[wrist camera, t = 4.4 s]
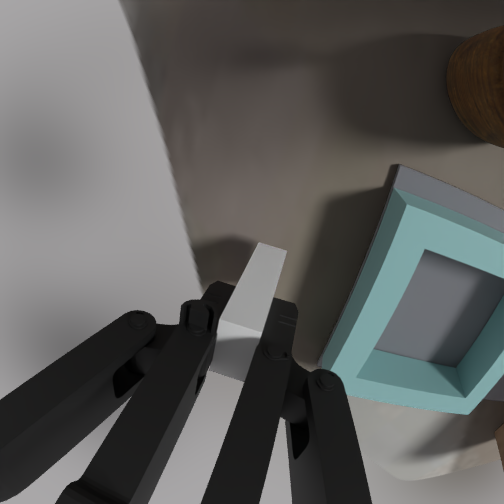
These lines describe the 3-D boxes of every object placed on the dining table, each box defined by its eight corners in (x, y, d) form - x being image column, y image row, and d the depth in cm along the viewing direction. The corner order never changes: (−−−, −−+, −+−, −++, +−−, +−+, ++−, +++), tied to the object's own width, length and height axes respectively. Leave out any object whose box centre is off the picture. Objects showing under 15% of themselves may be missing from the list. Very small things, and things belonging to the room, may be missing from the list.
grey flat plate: (399, 163, 15) (400, 164, 15) (608, 274, 13) (610, 277, 12) (317, 362, 21) (317, 366, 21) (524, 400, 19) (526, 403, 19)
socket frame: (393, 187, 15) (406, 204, 12) (542, 253, 14) (566, 275, 11) (322, 355, 20) (320, 388, 18) (459, 385, 19) (468, 414, 17)
